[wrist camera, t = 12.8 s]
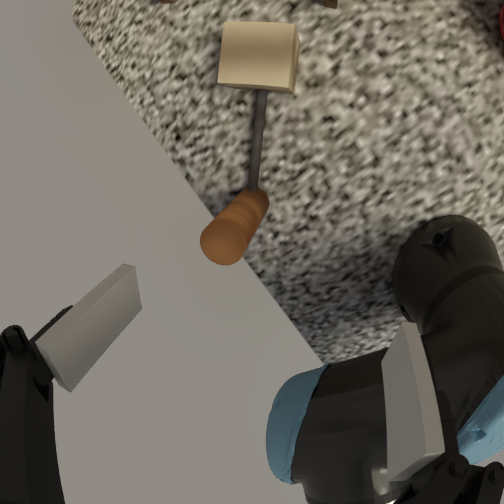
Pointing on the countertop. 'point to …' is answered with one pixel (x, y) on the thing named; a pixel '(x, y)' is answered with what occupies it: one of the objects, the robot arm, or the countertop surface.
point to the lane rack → (329, 2)
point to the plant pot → (501, 21)
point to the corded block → (262, 79)
